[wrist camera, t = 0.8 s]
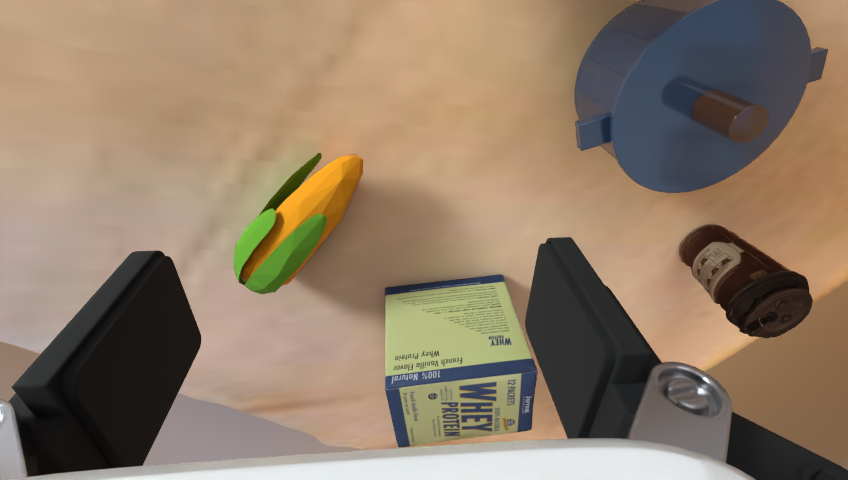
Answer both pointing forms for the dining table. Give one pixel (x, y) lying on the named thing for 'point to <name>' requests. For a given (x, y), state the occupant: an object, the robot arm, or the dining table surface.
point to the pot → (629, 64)
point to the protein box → (456, 361)
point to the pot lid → (710, 94)
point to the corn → (295, 223)
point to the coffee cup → (746, 282)
